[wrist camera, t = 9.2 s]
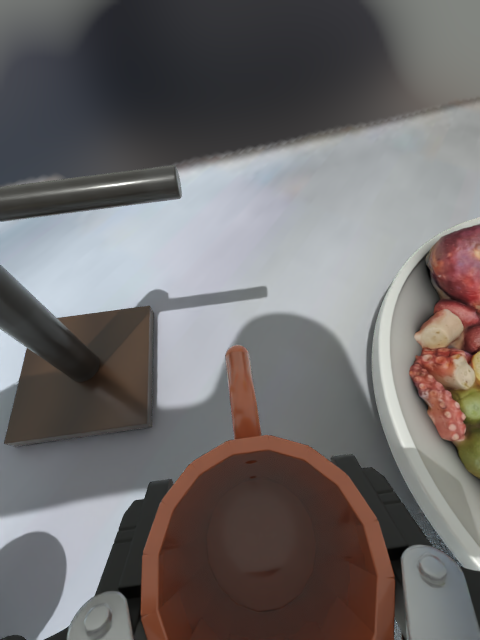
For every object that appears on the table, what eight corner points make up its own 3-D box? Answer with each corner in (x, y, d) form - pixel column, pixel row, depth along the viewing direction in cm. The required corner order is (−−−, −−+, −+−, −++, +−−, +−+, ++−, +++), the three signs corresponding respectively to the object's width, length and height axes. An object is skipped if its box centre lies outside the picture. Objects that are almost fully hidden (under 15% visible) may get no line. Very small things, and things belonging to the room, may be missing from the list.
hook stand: (14, 446, 23) (-470, 320, 8) (41, 327, 28) (-220, 110, 13) (228, 416, 24) (167, 236, 8) (216, 304, 29) (164, 63, 13)
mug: (336, 608, 14) (442, 734, 6) (204, 628, 13) (134, 785, 6) (291, 395, 18) (317, 311, 11) (193, 409, 18) (147, 332, 10)
